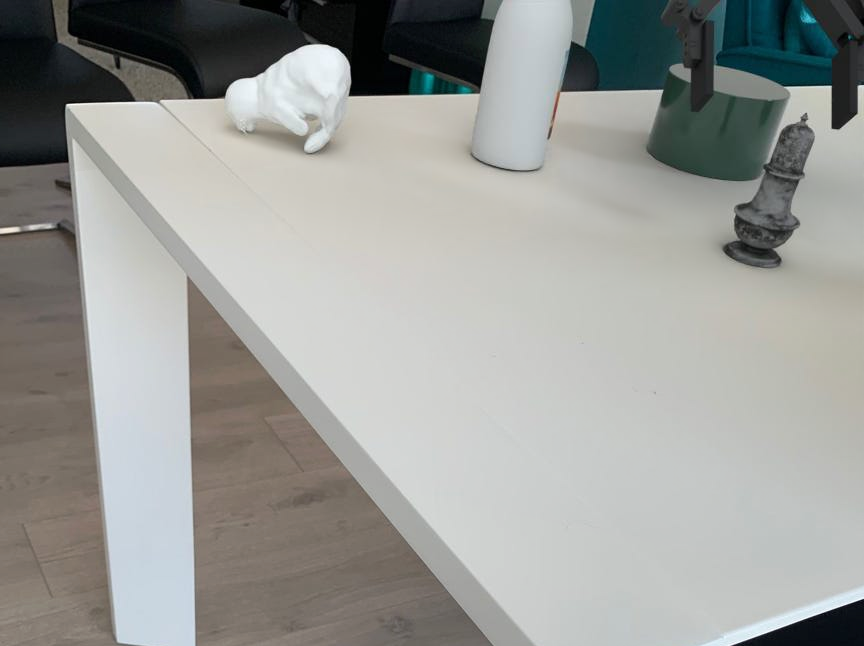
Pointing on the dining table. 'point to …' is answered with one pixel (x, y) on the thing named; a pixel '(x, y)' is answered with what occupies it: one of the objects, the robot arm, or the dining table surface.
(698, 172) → the pedestal
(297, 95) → the white figurine
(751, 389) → the dining table surface
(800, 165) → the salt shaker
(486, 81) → the milk bottle
